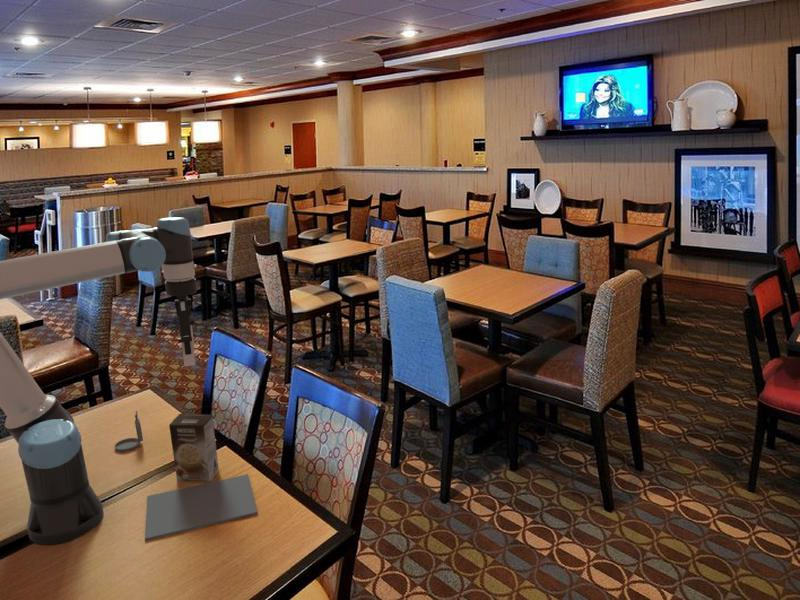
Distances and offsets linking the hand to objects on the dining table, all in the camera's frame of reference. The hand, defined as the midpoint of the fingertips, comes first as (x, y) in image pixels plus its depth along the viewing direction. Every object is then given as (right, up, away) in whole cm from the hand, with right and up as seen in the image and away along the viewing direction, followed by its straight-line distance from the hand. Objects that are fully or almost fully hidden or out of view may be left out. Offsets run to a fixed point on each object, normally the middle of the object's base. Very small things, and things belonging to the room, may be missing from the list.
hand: (189, 357), depth 159 cm
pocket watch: (-21, -27, +13) cm, 36 cm away
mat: (+9, -34, -17) cm, 39 cm away
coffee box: (+4, -31, -4) cm, 31 cm away
